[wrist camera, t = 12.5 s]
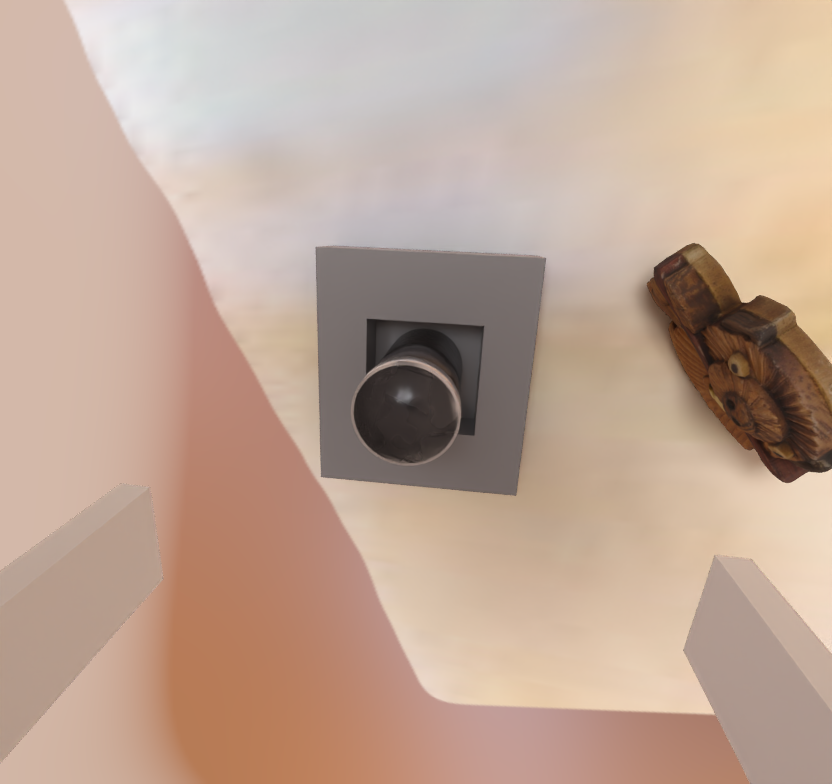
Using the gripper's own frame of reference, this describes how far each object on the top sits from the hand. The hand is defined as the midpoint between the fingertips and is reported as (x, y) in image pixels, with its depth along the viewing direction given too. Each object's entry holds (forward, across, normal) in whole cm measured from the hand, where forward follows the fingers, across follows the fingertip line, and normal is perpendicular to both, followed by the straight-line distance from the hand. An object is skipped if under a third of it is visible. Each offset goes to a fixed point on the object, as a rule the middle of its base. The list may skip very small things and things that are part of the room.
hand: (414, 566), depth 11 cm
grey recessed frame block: (+24, -2, -2) cm, 25 cm away
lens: (+24, -2, -2) cm, 24 cm away
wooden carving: (+25, +17, 0) cm, 30 cm away
